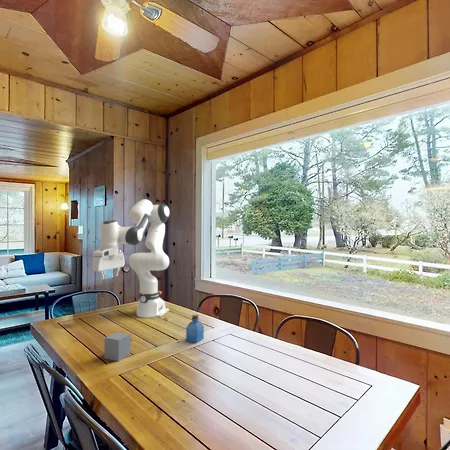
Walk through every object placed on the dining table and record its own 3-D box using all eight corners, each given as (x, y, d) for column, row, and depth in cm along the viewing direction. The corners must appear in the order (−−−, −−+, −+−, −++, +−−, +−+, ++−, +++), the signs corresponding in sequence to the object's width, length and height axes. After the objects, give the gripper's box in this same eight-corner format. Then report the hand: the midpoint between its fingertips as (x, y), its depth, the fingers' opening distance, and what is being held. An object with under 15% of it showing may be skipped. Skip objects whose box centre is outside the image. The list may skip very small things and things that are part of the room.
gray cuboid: (116, 351, 136) (116, 331, 136) (130, 354, 133) (130, 334, 133) (104, 358, 129) (104, 337, 129) (118, 361, 126) (118, 340, 126)
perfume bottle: (186, 340, 150) (186, 316, 150) (193, 336, 155) (193, 313, 155) (196, 343, 147) (197, 318, 147) (203, 339, 152) (203, 315, 152)
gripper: (118, 249, 170) (118, 274, 170) (90, 252, 151) (89, 280, 151) (127, 250, 168) (127, 275, 168) (99, 253, 149) (99, 281, 149)
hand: (109, 277), depth 159 cm, fingers open, 8 cm apart
